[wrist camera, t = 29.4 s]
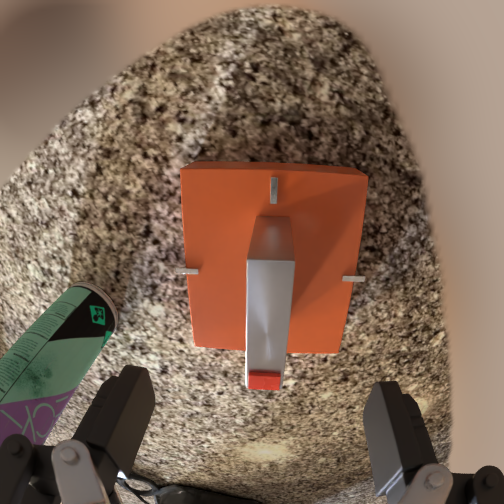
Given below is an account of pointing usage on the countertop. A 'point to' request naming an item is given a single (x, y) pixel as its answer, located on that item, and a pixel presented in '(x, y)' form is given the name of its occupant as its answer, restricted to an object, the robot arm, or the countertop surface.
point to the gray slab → (268, 301)
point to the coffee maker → (179, 494)
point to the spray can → (53, 361)
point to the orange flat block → (239, 236)
